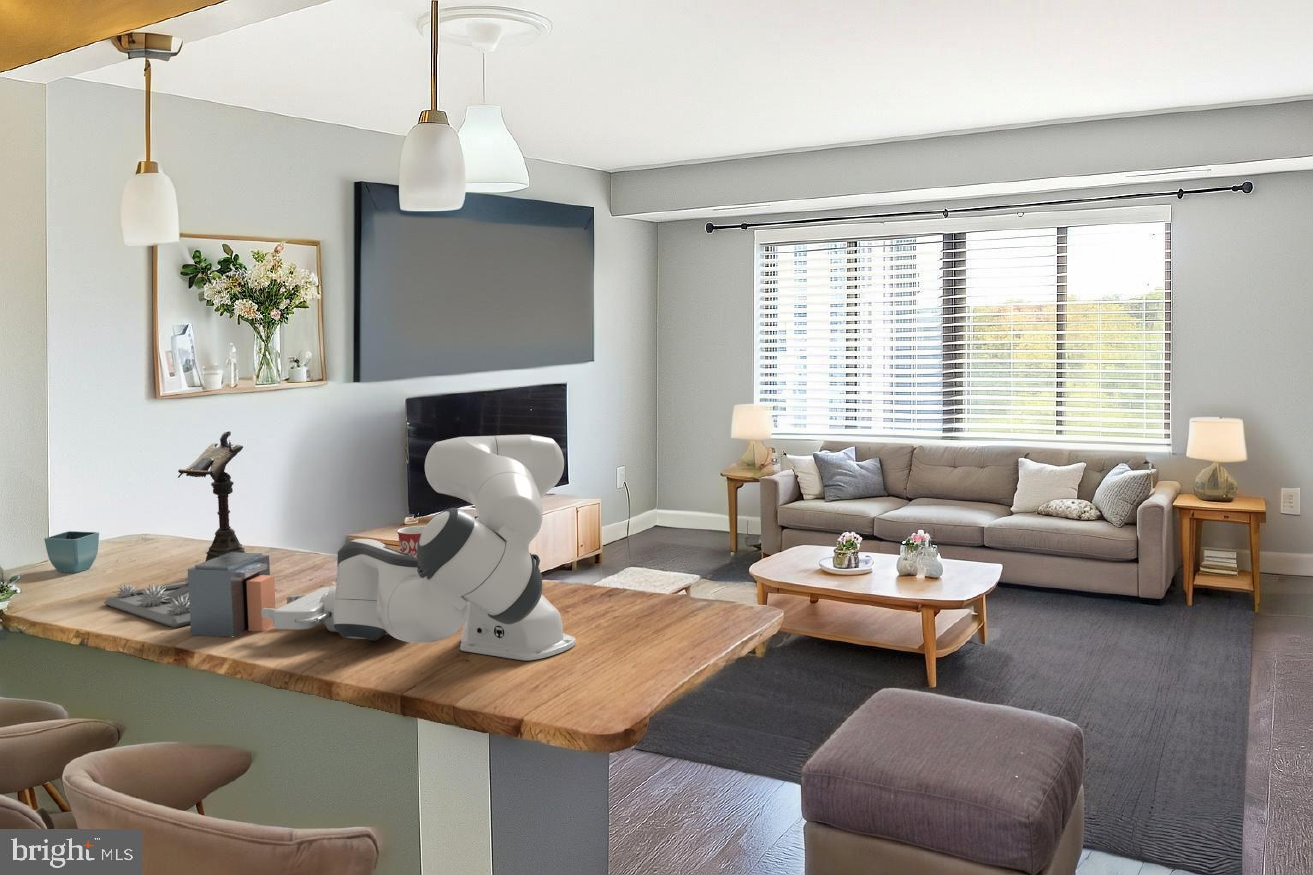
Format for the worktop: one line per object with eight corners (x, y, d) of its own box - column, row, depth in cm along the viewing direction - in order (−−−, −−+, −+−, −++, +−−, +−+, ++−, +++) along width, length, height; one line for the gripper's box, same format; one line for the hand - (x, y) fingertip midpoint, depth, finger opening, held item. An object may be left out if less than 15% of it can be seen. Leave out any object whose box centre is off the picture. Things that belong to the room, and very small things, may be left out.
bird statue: (209, 586, 243) (201, 435, 239) (172, 580, 249) (164, 433, 246) (267, 572, 257) (261, 429, 253) (231, 566, 264) (224, 426, 260)
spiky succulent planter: (270, 608, 226) (269, 576, 225) (172, 632, 209) (170, 597, 208) (197, 588, 244) (196, 557, 243) (102, 608, 227) (100, 575, 227)
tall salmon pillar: (276, 624, 212) (273, 575, 211) (262, 631, 207) (260, 581, 206) (262, 623, 213) (260, 575, 212) (248, 630, 208) (246, 581, 207)
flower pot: (78, 575, 255) (75, 538, 254) (45, 574, 256) (42, 538, 255) (102, 567, 263) (100, 531, 263) (70, 566, 265) (68, 531, 264)
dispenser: (277, 617, 217) (274, 552, 216) (239, 637, 203) (235, 568, 202) (231, 615, 219) (228, 550, 217) (191, 634, 205) (187, 566, 204)
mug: (390, 589, 240) (388, 530, 238) (418, 580, 248) (416, 524, 246) (432, 596, 234) (430, 536, 232) (459, 587, 241) (458, 529, 240)
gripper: (316, 639, 195) (247, 636, 198) (365, 611, 216) (302, 609, 218) (315, 606, 195) (246, 603, 197) (364, 581, 215) (301, 579, 217)
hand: (276, 606), depth 208 cm, fingers open, 8 cm apart
